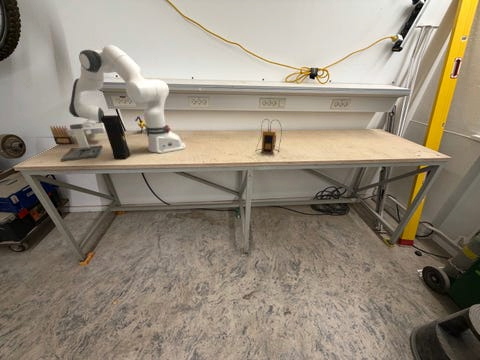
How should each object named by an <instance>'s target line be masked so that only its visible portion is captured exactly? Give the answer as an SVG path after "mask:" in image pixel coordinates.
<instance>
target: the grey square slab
mask: <svg viewBox="0 0 480 360" xmlns="http://www.w3.org/2000/svg"><path fill="white" fill-rule="evenodd" d="M90 146H91V147H90V148H89V149H84V150H79V147H71V148H70V149H69V150H68V151H67V152H66V153H65V154H64V155H63V156H61V158H60V159H59V160H60V162H61V163H62V162H71V161H79V160H80V161H81V160H88V159H96V158H97V157H98V155H100V153H101V151H102V150H101V149H104V148H103V147H104V146H103V145H102V144H101V145H90Z"/></svg>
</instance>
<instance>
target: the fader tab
mask: <svg viewBox="0 0 480 360" xmlns="http://www.w3.org/2000/svg"><path fill="white" fill-rule="evenodd" d="M82 124H83V123H74V124H70V125H69V129H70V128H71V129H72V130H73V132H74V137H75V140H76V142H77V145H78V148H79V150H84V149H89V148H90V147H91V146H92V145H89V142H88V140H87V137H86V135H85V134H84V131H83V129H82V128H83V126H82Z"/></svg>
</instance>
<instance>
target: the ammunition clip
mask: <svg viewBox="0 0 480 360" xmlns="http://www.w3.org/2000/svg"><path fill="white" fill-rule="evenodd" d="M49 127H50V128H49V129H50V131H51V134H52V136H53V140H54V142H55V144H56V145H59V146H61V144H62V145H68V146H69V145H75V140H74V139H73V136H69V135H68V134H67V130H68V129H69V128H68V127H67V126H66V125H64V126H63V125H61V126H60V125H59V126H58V125H56V126H55V125H53V126H52V125H49Z"/></svg>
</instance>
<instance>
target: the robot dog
mask: <svg viewBox="0 0 480 360" xmlns="http://www.w3.org/2000/svg"><path fill="white" fill-rule="evenodd" d="M138 120H139V122H138V123H137V126H138V127H139V128H140V134H141V133H143V129H144V128H145V129H144V131H145V132H146V124H145V120H142V119H141V117H140V116H139V115H138V116H137V117H136V118H135V119H134V121H135V122H137V121H138Z"/></svg>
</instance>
